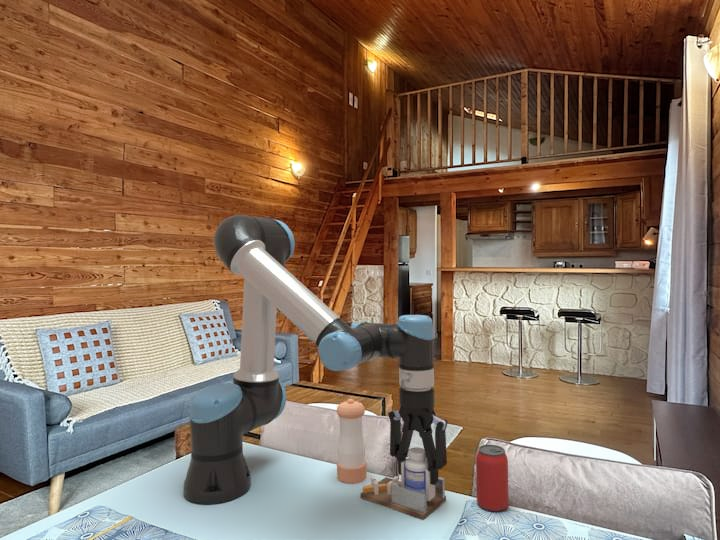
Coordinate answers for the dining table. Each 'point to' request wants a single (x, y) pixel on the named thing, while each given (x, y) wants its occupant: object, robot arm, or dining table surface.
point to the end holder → (415, 496)
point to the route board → (387, 501)
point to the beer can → (492, 478)
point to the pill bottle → (416, 469)
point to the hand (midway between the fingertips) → (418, 493)
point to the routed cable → (379, 486)
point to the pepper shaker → (351, 443)
